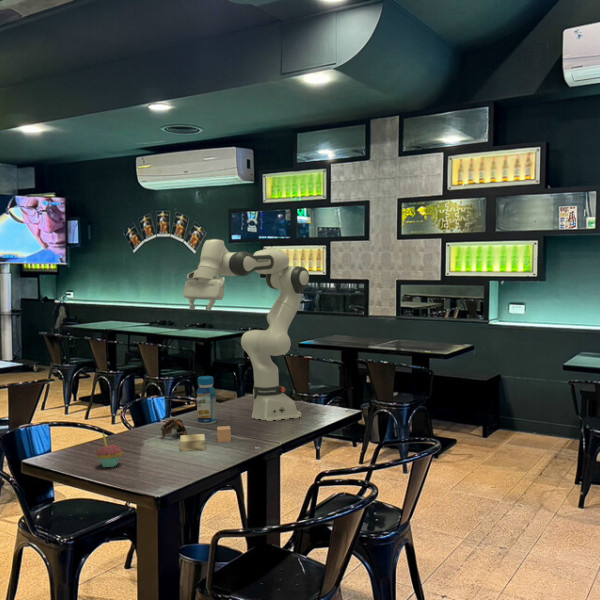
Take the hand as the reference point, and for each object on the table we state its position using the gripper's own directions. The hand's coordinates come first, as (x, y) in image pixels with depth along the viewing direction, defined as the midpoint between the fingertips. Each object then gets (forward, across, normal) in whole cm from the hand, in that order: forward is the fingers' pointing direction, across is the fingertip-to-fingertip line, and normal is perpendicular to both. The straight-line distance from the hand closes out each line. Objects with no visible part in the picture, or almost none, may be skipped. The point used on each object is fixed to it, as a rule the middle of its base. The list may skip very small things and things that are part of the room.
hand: (199, 309), depth 251 cm
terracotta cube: (+48, -13, -15) cm, 52 cm away
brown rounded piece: (+51, +8, -9) cm, 52 cm away
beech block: (+53, -10, -2) cm, 54 cm away
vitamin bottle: (+44, +14, -31) cm, 55 cm away
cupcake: (+63, -3, +28) cm, 69 cm away
